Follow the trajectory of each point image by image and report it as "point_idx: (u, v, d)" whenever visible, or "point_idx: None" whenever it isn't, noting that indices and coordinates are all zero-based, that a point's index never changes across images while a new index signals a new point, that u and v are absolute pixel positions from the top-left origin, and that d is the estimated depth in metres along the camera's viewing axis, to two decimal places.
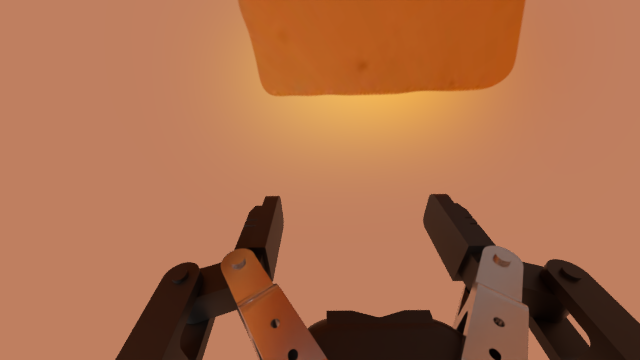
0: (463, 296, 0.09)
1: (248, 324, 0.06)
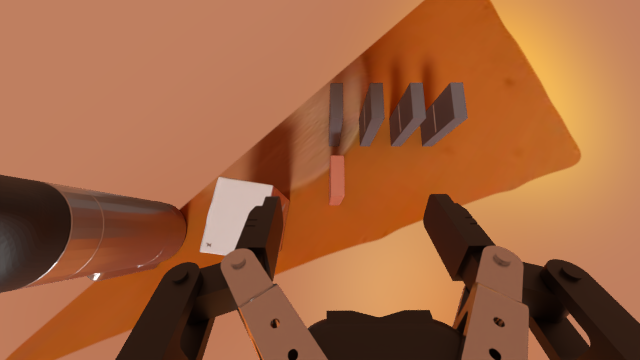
0: (463, 296, 0.09)
1: (248, 324, 0.06)
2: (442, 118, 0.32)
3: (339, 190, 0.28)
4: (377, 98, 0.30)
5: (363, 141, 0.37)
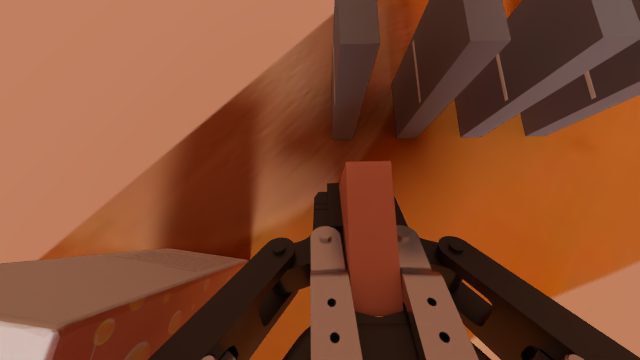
0: None
1: (311, 290, 0.07)
2: (635, 56, 0.12)
3: (383, 292, 0.07)
4: None
5: (408, 127, 0.17)
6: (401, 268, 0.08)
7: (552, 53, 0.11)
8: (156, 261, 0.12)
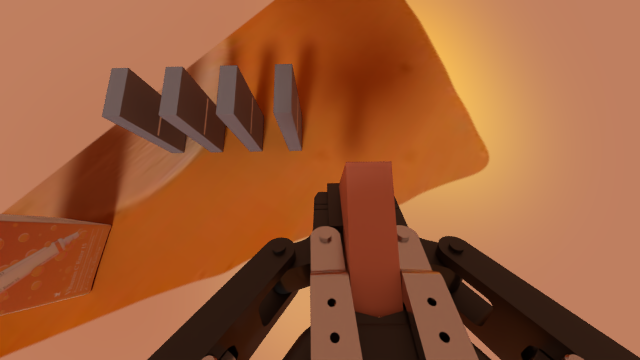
0: None
1: (311, 290, 0.07)
2: None
3: (383, 293, 0.07)
4: (171, 87, 0.22)
5: (204, 146, 0.29)
6: (401, 268, 0.08)
7: None
8: (34, 218, 0.24)
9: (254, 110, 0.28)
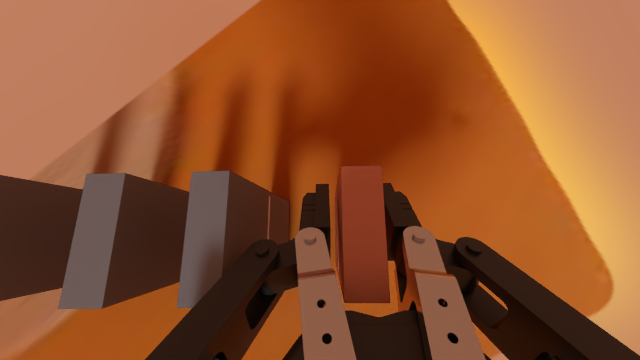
0: (398, 280, 0.10)
1: (300, 293, 0.07)
2: None
3: (372, 282, 0.08)
4: None
5: None
6: (414, 268, 0.08)
7: None
8: None
9: None
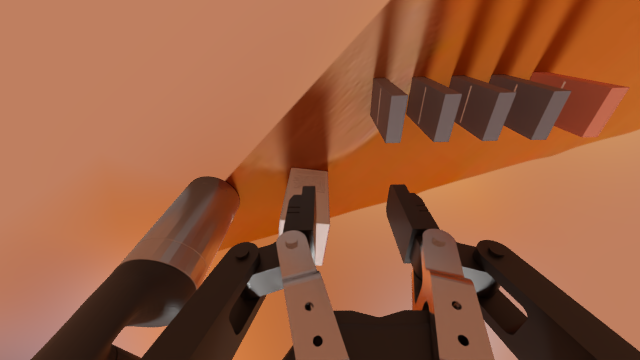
0: (414, 282, 0.10)
1: (286, 298, 0.07)
2: (518, 118, 0.27)
3: (595, 131, 0.25)
4: (448, 116, 0.24)
5: None
6: (431, 269, 0.08)
7: (475, 126, 0.27)
8: None
9: None
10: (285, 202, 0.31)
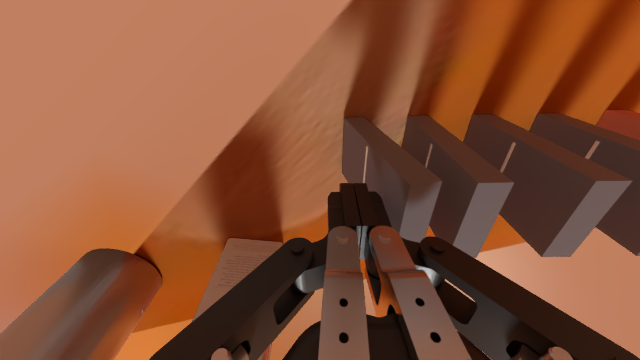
0: (370, 283, 0.10)
1: (324, 288, 0.07)
2: None
3: None
4: (479, 220, 0.12)
5: None
6: (386, 270, 0.08)
7: (523, 221, 0.14)
8: None
9: None
10: None
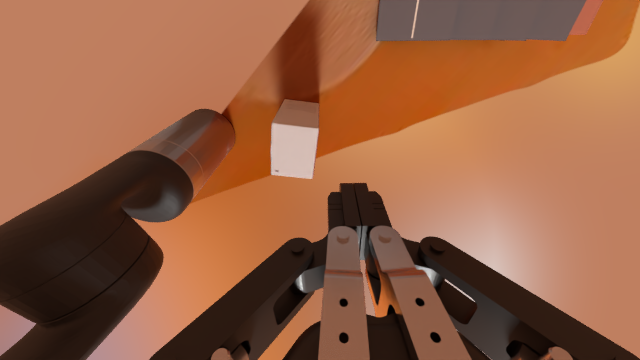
0: (370, 282, 0.10)
1: (324, 288, 0.07)
2: (546, 28, 0.32)
3: None
4: None
5: None
6: (386, 270, 0.08)
7: (512, 32, 0.32)
8: (298, 109, 0.36)
9: None
10: (277, 114, 0.33)
